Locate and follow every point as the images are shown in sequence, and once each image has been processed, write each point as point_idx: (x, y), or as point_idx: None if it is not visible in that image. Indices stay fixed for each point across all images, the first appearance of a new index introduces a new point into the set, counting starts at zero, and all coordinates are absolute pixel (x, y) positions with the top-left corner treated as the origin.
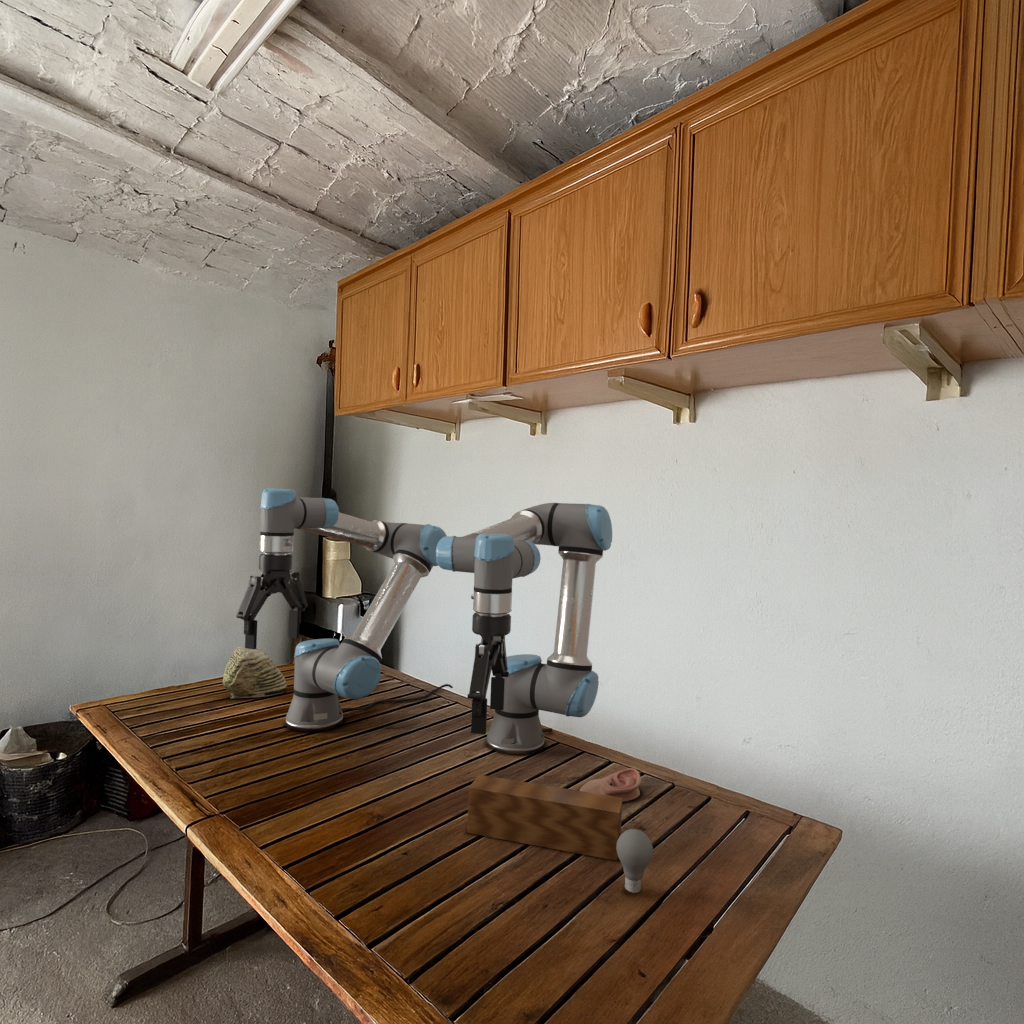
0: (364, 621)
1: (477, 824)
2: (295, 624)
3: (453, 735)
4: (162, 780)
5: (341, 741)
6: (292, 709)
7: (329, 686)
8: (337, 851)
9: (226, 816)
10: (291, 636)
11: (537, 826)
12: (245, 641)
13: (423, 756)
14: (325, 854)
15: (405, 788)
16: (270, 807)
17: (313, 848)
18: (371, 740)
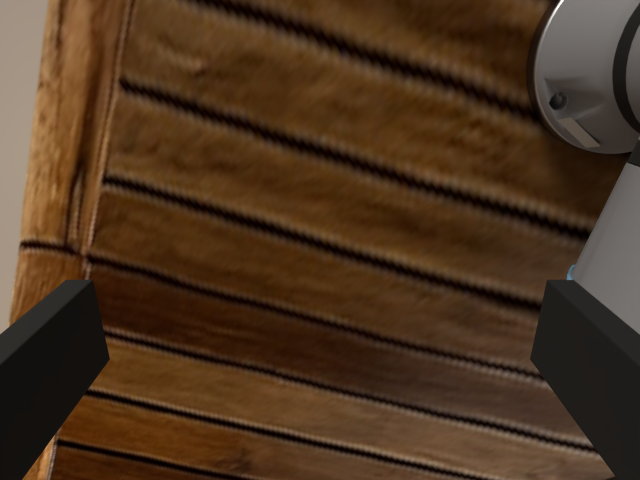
0: None
1: None
2: (603, 430)
3: None
4: (85, 3)
5: (506, 226)
6: (585, 18)
7: (586, 248)
8: (132, 471)
9: (87, 275)
10: (546, 316)
11: None
12: (36, 309)
13: (494, 415)
14: (116, 463)
15: (349, 452)
16: (160, 315)
17: (116, 444)
18: (540, 283)
